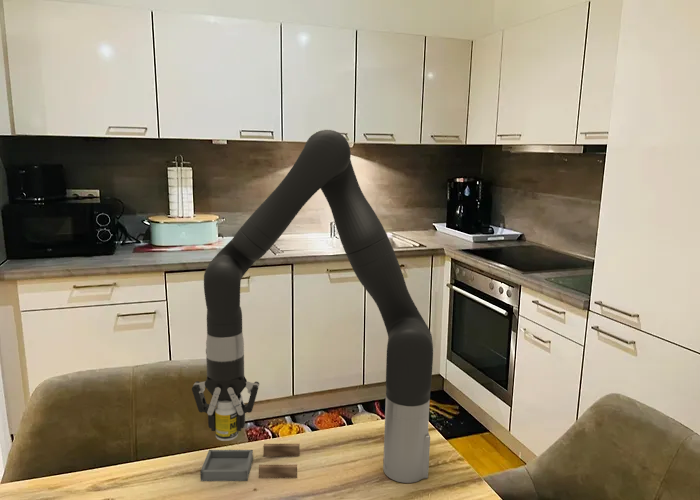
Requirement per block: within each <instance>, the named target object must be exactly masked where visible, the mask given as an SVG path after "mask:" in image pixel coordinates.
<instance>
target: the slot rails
mask: <svg viewBox="0 0 700 500" xmlns="http://www.w3.org/2000/svg"><path fill="white" fill-rule="evenodd" d="M300 447H301V446H300V443H263V450H262V451H263V452H262V453H263V456H262V457H300V450H301V448H300ZM258 479H298V464H297V463H296V464H258Z"/></svg>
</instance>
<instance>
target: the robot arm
mask: <svg viewBox="0 0 700 500" xmlns="http://www.w3.org/2000/svg"><path fill="white" fill-rule="evenodd" d="M351 154H352V153H351V147H350V144H349V141H348V140H347V138H346V137H345V136H344V135H343V134H341V133H340V132H339V131H336V130H333V129H323V130H319V131H316V132H314V133H313V134H312V135H311V136H309V138H308V139H307V141H306V142H305V144H304V147H303V149H302V150H301V152H300V154H299V155H298V157H297V159H296V160H295V162H294V164H293V165H292V167H291V168H290V170H289V171H288V173H287V174H286V175H285V177H284V178H283V179H282V180H281V181H280V183H279V184H278V185H277V187H275V189H274V190H273V191H272V192H271V193H270V194H269V196H268V197H266V199H265V200H264V201H262V203H261V204H260V205H259V206H258V207H257V208H256V209H255V211H254V212H253V213H252V214H251V215H250V216H249V217H248V219H247V220H246V221H245V222H244V223H243V224H242V225H241V226H240V228H239V229H238V230H237V232H236V233H235V234H234V236H233V237H232V239H231V240H230V241H229V242H227V244H226V245H225V246H223V248H222V249H221V250H220V251H219V252H218V253H217V254H216V255H215V256H214V257H213V258H212V259H211V260H210V262H209V263H208V265H207V267H206V269H205V271H204V275H203V288H204V289H203V290H204V291H203V292H204V300H205V305H206V342H205V356H206V357H205V358H206V380H205V381H198V380H197V381H195V382H194V384H193V385H192V387H191V391H192V394H193V398H194V401H195V404H196V407H197V410H198V412H199V413H201V414H202V413H206V414H207V423H208V428H209V429H210V431H211V432H216V430H215V409H216V407H217V400H218V401H223V400H228V401H232V402H233V405H234V407H235V408H236V410H237V413H238V414H237V431H238V432H241V431H242V429H244V428H245V425H246V414H247V413H249V414H250V413H252V411H253V409H254V406H255V402H256V398H257V394H258V390H259V388H260V382H259V381H254V382H251V381H247V378H246V376H245V346H244V345H245V341H244V335H243V312H242V311H243V310H242V307H241V283H242V278H244V276H245V274H246V273H247V272H248V271H249V270H250V268H251V267H252V266H253V265H254V263H255V262H256V261H258V260H260V259H261V258H262V257H263V256H264V255H265V254H266V253H267V252H268V251H269V250H270V249H271V247H273V245H274V244H275V243H276V242H277V241H278V239H279V238H280V237H281V236H282V235H283V233H284V232H285V231H286V230H287V228H288V227H289V226H290V224H291V223H292V221H294V219H295V218H296V216H297V215H298V214H299V213H300V212H301V210H302V208H304V207H305V205H306V204H307V202H308V201H309V200H310V199H312V197H313V196H314V195H315V194H316V193H317V192H318V191H319V190H321V192H322V194H323V195H324V197H325V199H326V201H327V203H328V206H329V207H330V211H331V213H332V217H333V221H334V224H335V228H336V230H337V231H336V232H337V233H338V236H339V239H340V242H341V245H342V247H343V250H344V253H345V256H346V257H347V259H348V262H349V264H350V266H351V268H352V270H353V272H354V274H355V277H356V278H357V279H358V281H359V282H360V284H361V285H362V286H363V288H364V289H365V290H366V292H367V293H368V294H369V296H370V297H371V298H372V299H373V301H374V303H375V304H376V306H377V309H378V311H379V313H380V316H381V318H382V321H383V324H384V327H385V330H386V333H387V336H388V337H387V338H388V339H387V345H386V358H385V359H386V360H385V363H386V367H385V404H384V405H385V411H384V434H383V435H384V437H383V439H384V440H383V458H382V459H383V460H382V463H383V468H382V470H383V473H384V474H385V475H386V476H387V478H389V479H391V480H393V481H395V482H397V483H405V484H410V483H411V484H412V483H416V482H419V481H422V480H424V479H428V478H429V467H430V447H431V436H430V433H429V423H430V422H429V420H430V403H431V402H430V401H431V390H432V378H433V365H434V363H433V362H434V361H433V360H434V345H433V336H432V332H431V330H430V328H429V326H428V324H427V323H426V320H425V319H424V318H423V317H422V316H423V315H421V313H420V312H419V309H418V307H417V305H416V304H415V302H414V300H413V298H412V297H411V294H410V293H409V290H408V288H407V285H406V281H405V278H404V275H403V271H402V269H401V265H400V262H399V261H398V258H397V255H396V252H395V249H394V248H393V246H392V242H391V241H390V239H389V238H390V237H388V234H387V232H386V230H385V228H384V226H383V224H382V222H381V221H380V219H379V217H378V216H377V214H376V212H375V210H374V208H372V206H371V204H370V203H369V201H368V200H367V198H366V196H365V195H364V193H363V191H362V189H361V186H360V184H359V181H358V178H357V176H356V173H355V170H354V167H353V163H352V160H351V157H352V156H351ZM205 388H206V389H207V390H208V391H207V392H209V393H210V394H211V396H212V397H211V400H210V403H207V399H206V398H205V393H204V392H205ZM244 389H247V393H248V394H249V397H248V402H247V403H246V404H245V402H244V400H243V395H242V393H243V391H244Z"/></svg>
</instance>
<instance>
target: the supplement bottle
mask: <svg viewBox="0 0 700 500" xmlns="http://www.w3.org/2000/svg"><path fill="white" fill-rule="evenodd" d="M237 414H238V413H237V410H236V408H235V407H234V405H233V402H232V401H228V400H223V401H218V400H217V405H216V408H215V438H216V439H217V440H218V441H220V442H221V441H222V442H227V441H229V442H230V441H232V440H235V439H236V438H238V436H239V431H237Z"/></svg>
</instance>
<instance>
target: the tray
mask: <svg viewBox="0 0 700 500" xmlns="http://www.w3.org/2000/svg"><path fill="white" fill-rule="evenodd" d="M253 460H254V449H209V450H208V452H207V454H206V457H205V459H204V461H203V463H202V467H201V469H200V472H199V474H200V482H248V480H249V476H250V473H251V472H250V471H251V468H252V464H253Z"/></svg>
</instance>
